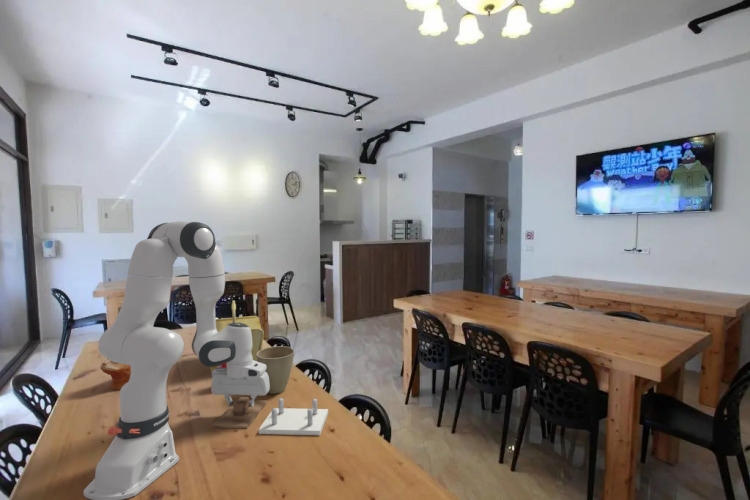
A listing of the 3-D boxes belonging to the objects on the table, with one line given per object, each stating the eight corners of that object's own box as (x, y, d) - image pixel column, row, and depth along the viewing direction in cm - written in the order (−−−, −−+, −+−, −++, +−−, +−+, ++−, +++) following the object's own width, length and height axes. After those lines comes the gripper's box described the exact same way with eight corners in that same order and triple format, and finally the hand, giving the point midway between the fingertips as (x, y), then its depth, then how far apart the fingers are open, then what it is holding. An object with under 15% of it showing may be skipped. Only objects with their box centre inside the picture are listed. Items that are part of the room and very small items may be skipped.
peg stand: (328, 413, 129) (327, 395, 129) (319, 435, 115) (319, 415, 115) (273, 412, 130) (273, 394, 130) (258, 433, 116) (258, 414, 116)
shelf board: (247, 430, 119) (246, 414, 119) (212, 429, 120) (211, 413, 120) (267, 404, 137) (267, 390, 137) (237, 403, 138) (236, 389, 138)
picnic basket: (265, 371, 169) (263, 307, 167) (204, 380, 159) (202, 313, 158) (260, 351, 196) (259, 297, 194) (208, 358, 186) (206, 301, 185)
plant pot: (256, 400, 139) (255, 360, 138) (258, 384, 154) (257, 348, 153) (296, 395, 143) (295, 356, 142) (294, 380, 158) (293, 344, 157)
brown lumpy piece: (93, 390, 150) (91, 355, 149) (156, 368, 173) (155, 338, 172) (111, 397, 143) (109, 360, 143) (174, 373, 167) (173, 341, 166)
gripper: (207, 371, 125) (208, 409, 126) (264, 371, 124) (265, 410, 125) (216, 364, 132) (217, 401, 133) (270, 365, 131) (271, 402, 131)
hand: (241, 405), depth 129 cm, fingers open, 6 cm apart
